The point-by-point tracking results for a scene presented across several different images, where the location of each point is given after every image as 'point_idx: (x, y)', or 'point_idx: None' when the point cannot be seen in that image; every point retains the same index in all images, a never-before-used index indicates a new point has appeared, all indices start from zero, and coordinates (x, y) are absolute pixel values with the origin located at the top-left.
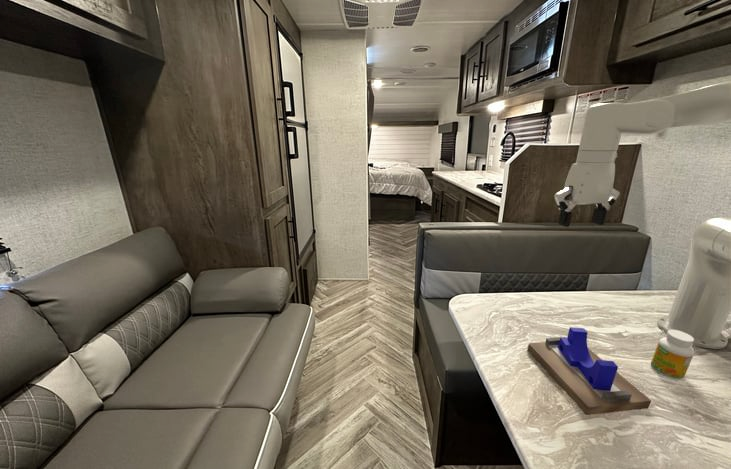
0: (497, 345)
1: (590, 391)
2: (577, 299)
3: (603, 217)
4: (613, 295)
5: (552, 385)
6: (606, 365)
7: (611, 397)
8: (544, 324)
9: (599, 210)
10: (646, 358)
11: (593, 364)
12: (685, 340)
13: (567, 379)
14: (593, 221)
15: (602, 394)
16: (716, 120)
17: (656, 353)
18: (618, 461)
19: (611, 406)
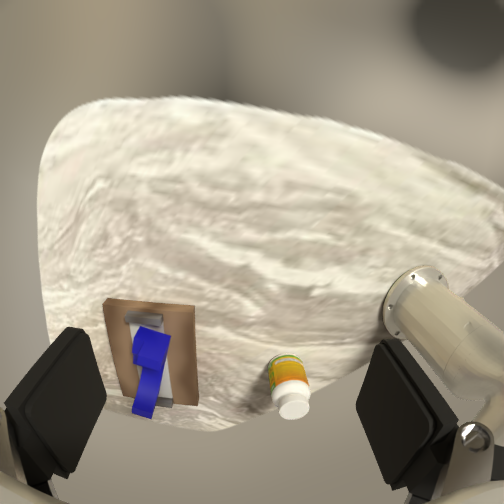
0: (69, 278)
1: (137, 385)
2: (341, 161)
3: (374, 448)
4: (428, 170)
5: (111, 355)
6: (138, 414)
7: None
8: (180, 239)
9: (404, 458)
10: (286, 344)
11: (158, 374)
12: (286, 418)
13: (121, 368)
14: (374, 363)
15: None
16: None
17: (273, 376)
18: (127, 415)
19: None
